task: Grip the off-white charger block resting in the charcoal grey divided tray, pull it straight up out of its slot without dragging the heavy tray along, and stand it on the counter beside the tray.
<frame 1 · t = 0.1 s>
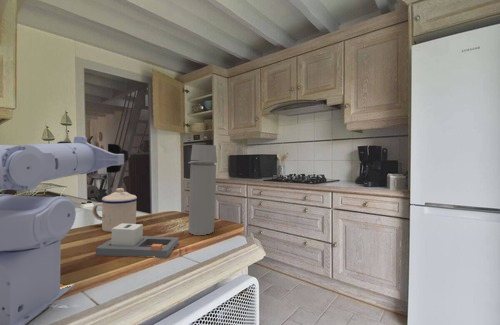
hand: (109, 154, 53), 22 cm above the worktop, tool horizontal, fingers open, 7 cm apart
grey divided tray: (140, 253, 54), on the worktop
teacup with lid: (114, 228, 69), on the worktop
charger: (127, 248, 54), point 1 cm above the worktop
water bottle: (199, 233, 68), on the worktop
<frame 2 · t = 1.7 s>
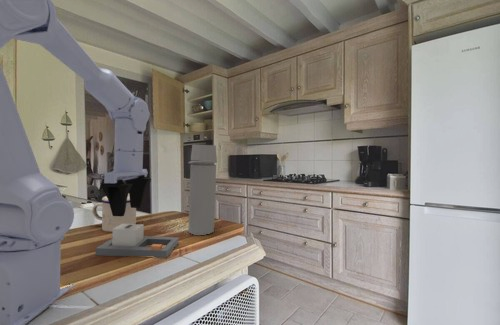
hand: (127, 211, 53), 9 cm above the worktop, tool pointing down, fingers open, 7 cm apart
grey divided tray: (139, 253, 54), on the worktop, touching charger
charger: (128, 248, 54), resting on grey divided tray
everything else where it was.
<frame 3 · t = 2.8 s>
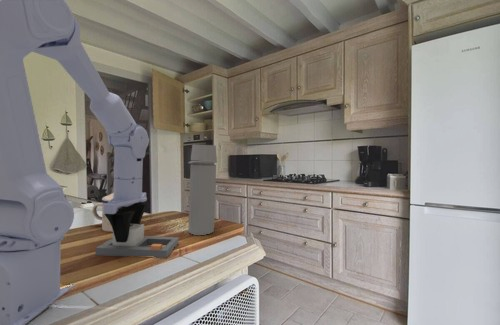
hand: (127, 237, 54), 3 cm above the worktop, tool pointing down, fingers closed on charger, 4 cm apart
charger: (128, 248, 54), point 1 cm above the worktop, touching gripper, grey divided tray
everything else where it was.
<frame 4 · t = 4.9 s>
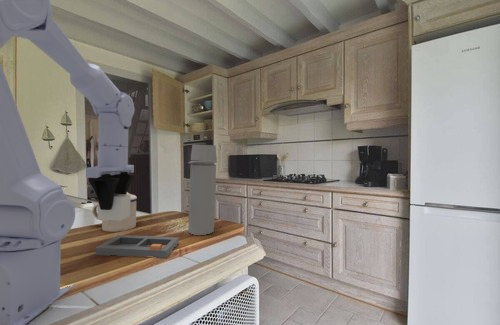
hand: (112, 207, 53), 10 cm above the worktop, tool pointing down, fingers closed on charger, 4 cm apart
grey divided tray: (139, 253, 54), on the worktop
charger: (114, 217, 53), point 8 cm above the worktop, touching gripper
everything else where it was.
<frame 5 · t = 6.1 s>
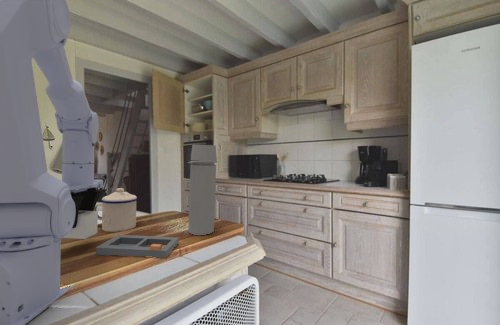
hand: (77, 224, 52), 6 cm above the worktop, tool pointing down, fingers closed on charger, 4 cm apart
charger: (80, 235, 53), point 3 cm above the worktop, touching gripper
everything else where it was.
when the fingers open (3 cm above the worktop, at t = 7.0 s): charger stays where it is, on the worktop.
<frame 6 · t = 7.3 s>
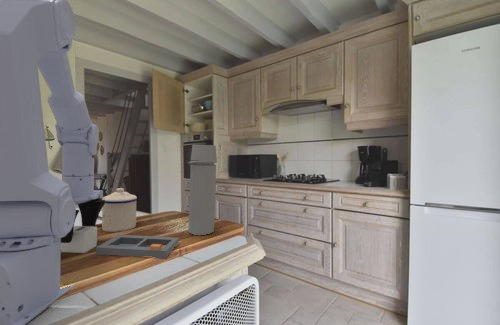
hand: (77, 236, 52), 3 cm above the worktop, tool pointing down, fingers open, 6 cm apart
charger: (79, 251, 53), on the worktop
everything else where it was.
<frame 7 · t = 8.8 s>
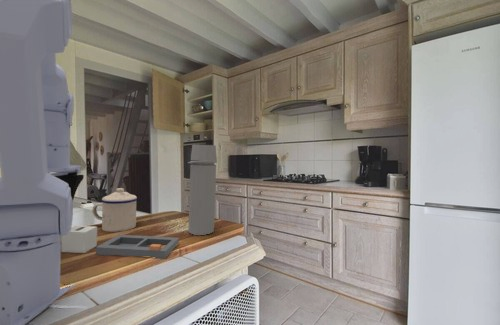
hand: (52, 210, 50), 9 cm above the worktop, tool pointing down, fingers open, 7 cm apart
nothing on the worktop moved.
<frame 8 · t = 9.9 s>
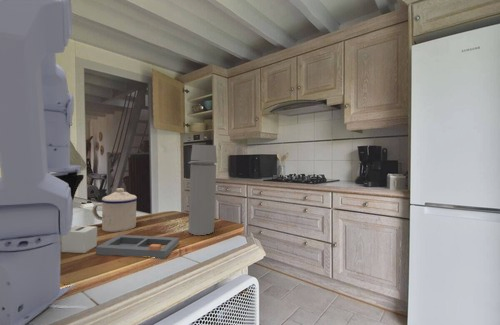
hand: (52, 210, 50), 9 cm above the worktop, tool pointing down, fingers open, 7 cm apart
nothing on the worktop moved.
at the end: charger inside the target area (0.5 cm from its centre), on the worktop; charger tilted 0°; grey divided tray moved 0.5 cm from its start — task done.
